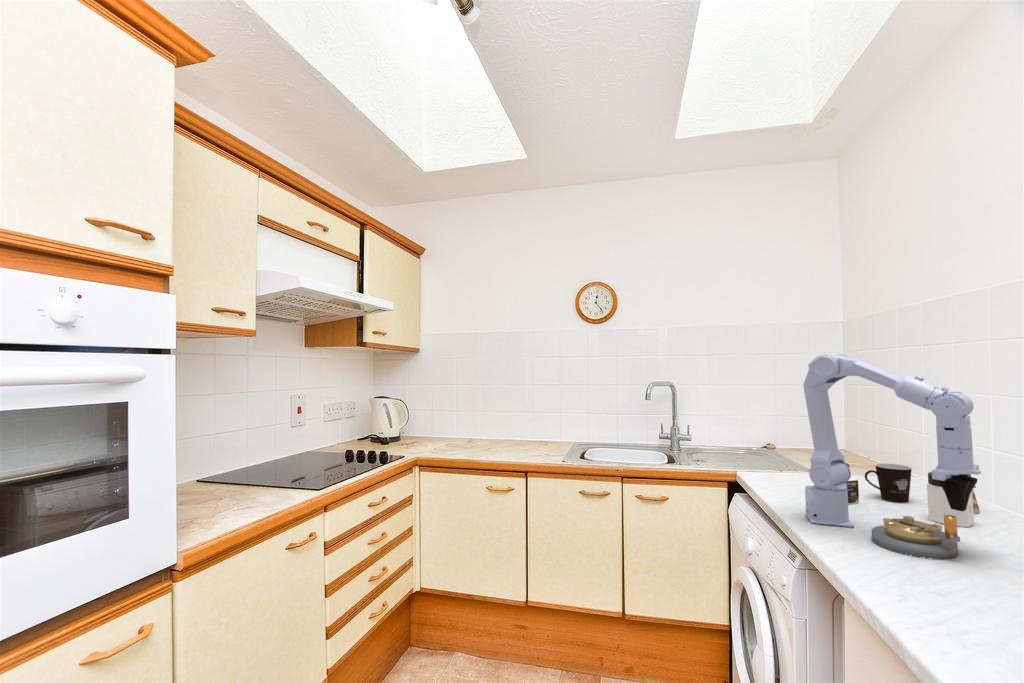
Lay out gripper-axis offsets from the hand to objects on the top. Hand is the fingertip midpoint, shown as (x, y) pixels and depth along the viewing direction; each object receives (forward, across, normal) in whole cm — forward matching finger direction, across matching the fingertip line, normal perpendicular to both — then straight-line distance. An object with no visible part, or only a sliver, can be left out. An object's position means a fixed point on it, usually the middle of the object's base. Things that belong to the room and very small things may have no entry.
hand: (958, 509), depth 103 cm
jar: (+10, +22, +12) cm, 27 cm away
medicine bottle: (+10, +16, +36) cm, 40 cm away
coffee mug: (+10, +31, +30) cm, 44 cm away
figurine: (+10, +37, +16) cm, 41 cm away
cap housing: (+9, -4, +7) cm, 12 cm away
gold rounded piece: (+7, -5, +5) cm, 10 cm away
